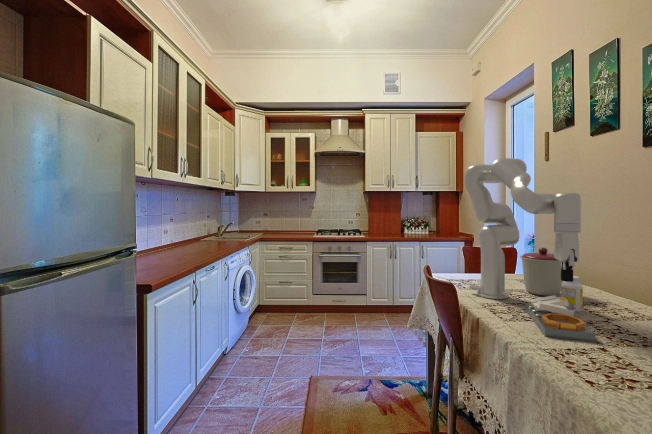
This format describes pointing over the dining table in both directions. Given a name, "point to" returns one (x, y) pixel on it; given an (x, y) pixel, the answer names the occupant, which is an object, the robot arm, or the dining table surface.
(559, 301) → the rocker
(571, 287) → the supplement bottle
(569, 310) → the bar
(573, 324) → the panel
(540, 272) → the canister
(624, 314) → the dining table surface
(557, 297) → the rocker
